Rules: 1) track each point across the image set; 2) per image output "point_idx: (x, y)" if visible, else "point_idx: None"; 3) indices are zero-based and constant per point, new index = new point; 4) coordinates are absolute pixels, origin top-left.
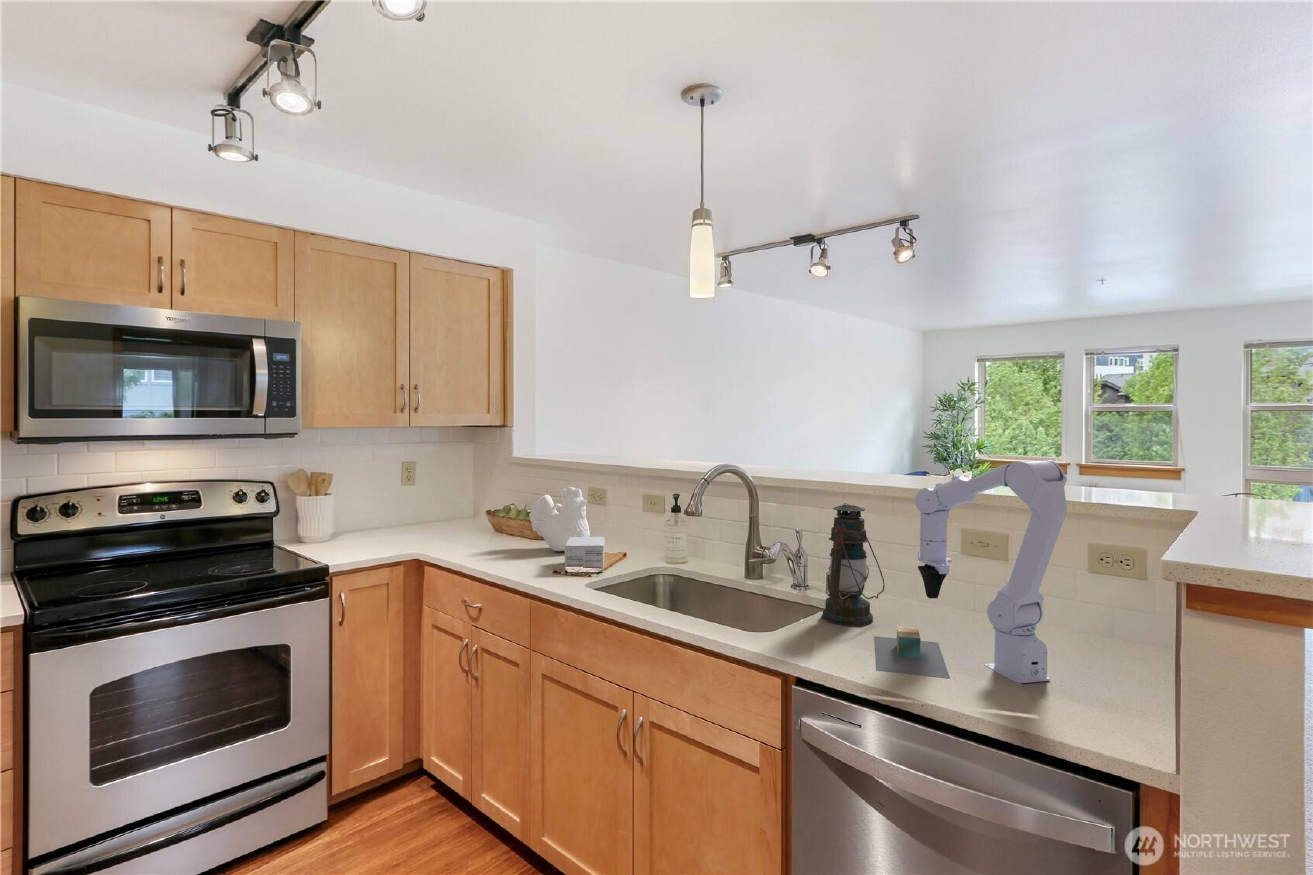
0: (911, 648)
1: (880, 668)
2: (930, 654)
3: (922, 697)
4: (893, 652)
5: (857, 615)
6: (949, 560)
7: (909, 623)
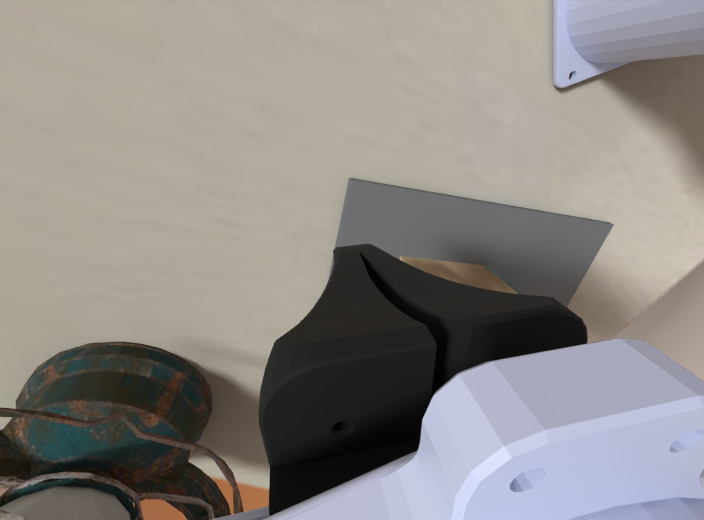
0: None
1: None
2: (461, 232)
3: (651, 292)
4: None
5: (185, 407)
6: (696, 426)
7: (93, 224)
